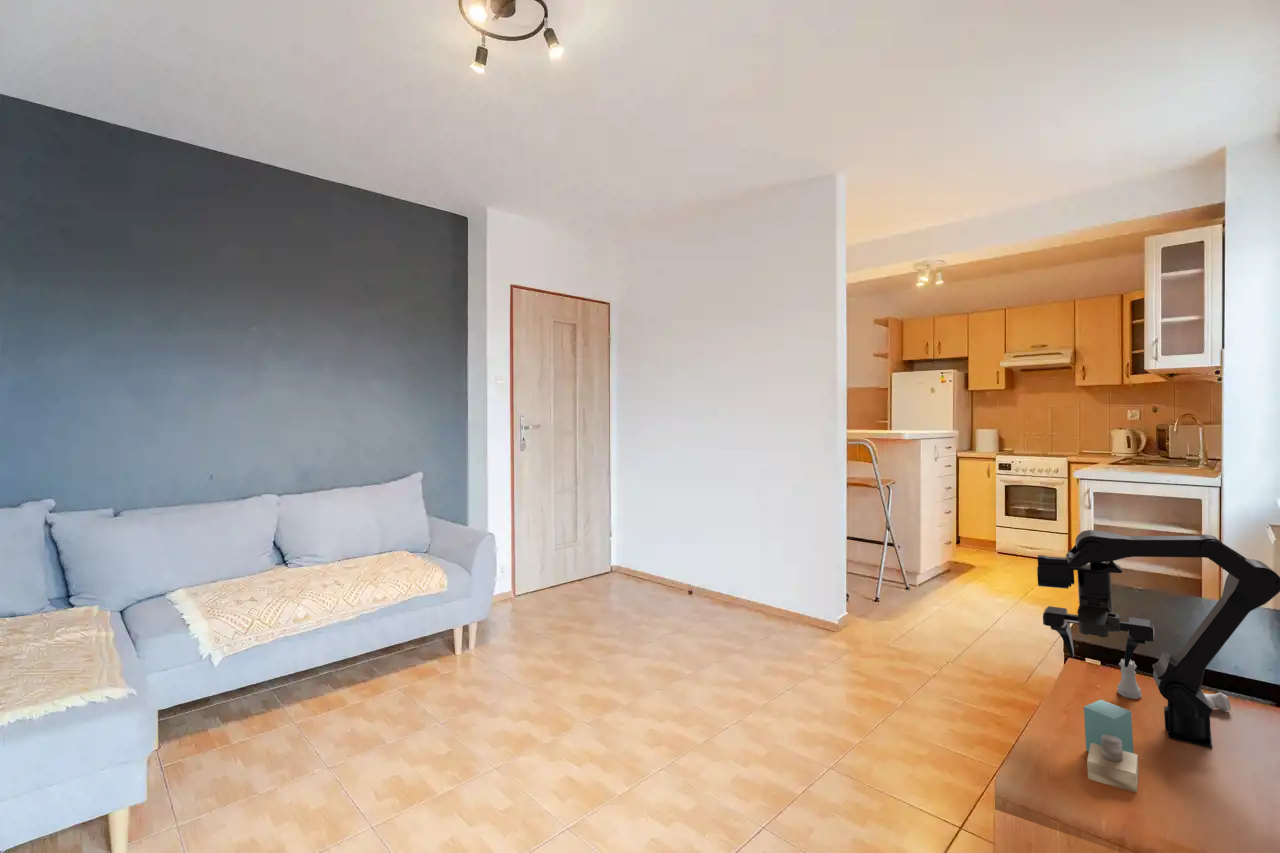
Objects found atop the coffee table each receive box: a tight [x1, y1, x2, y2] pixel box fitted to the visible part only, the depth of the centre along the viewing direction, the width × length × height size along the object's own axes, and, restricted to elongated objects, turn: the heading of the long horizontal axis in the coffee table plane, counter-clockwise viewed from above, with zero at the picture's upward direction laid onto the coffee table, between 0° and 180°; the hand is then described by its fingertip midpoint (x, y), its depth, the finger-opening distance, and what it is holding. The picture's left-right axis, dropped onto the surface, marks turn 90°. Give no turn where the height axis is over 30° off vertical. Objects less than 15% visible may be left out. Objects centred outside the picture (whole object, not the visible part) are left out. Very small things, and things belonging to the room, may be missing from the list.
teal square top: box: [1083, 699, 1135, 754], centre depth 118 cm, size 5×5×9 cm
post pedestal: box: [1086, 735, 1139, 794], centre depth 111 cm, size 7×7×7 cm
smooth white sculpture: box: [1203, 692, 1232, 713], centre depth 130 cm, size 4×8×5 cm
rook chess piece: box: [1116, 658, 1143, 700], centre depth 138 cm, size 4×4×8 cm
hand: (1098, 661), depth 129 cm, fingers open, 9 cm apart
